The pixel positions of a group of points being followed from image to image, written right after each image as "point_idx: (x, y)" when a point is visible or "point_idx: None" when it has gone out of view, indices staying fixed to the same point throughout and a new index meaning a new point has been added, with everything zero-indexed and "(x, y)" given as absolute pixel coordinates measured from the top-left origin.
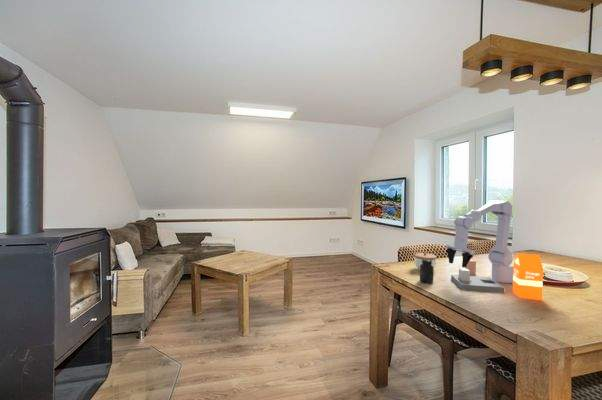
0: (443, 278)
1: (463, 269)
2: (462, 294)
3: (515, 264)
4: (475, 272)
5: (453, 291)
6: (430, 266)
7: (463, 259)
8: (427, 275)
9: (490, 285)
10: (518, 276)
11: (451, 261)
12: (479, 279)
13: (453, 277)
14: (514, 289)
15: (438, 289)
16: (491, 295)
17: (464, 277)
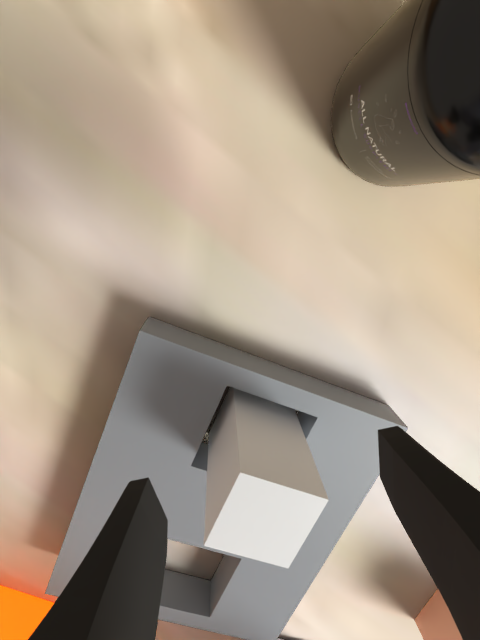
0: (423, 356)
1: (269, 513)
2: (27, 240)
3: None
4: (424, 638)
5: (104, 211)
6: (454, 40)
7: (68, 627)
8: (376, 38)
9: (94, 539)
10: None
11: (392, 476)
12: (240, 556)
13: (346, 403)
14: (34, 629)
15: (169, 91)
16: (7, 447)
17: (226, 444)
